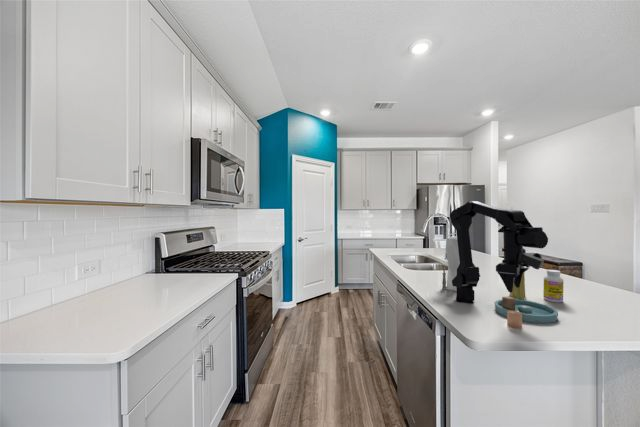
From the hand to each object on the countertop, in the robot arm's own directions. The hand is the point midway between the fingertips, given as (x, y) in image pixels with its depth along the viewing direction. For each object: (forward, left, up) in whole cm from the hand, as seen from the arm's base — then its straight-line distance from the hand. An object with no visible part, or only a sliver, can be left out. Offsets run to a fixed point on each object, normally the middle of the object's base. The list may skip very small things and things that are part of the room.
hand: (514, 289), depth 103 cm
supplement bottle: (+20, +33, -11) cm, 40 cm away
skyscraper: (-19, +37, -12) cm, 43 cm away
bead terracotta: (-1, -5, -11) cm, 12 cm away
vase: (+7, +33, -11) cm, 35 cm away
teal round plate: (+5, +10, -11) cm, 15 cm away
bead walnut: (0, +9, -10) cm, 13 cm away
